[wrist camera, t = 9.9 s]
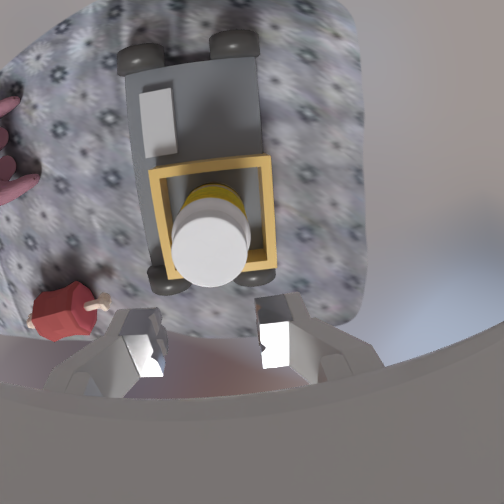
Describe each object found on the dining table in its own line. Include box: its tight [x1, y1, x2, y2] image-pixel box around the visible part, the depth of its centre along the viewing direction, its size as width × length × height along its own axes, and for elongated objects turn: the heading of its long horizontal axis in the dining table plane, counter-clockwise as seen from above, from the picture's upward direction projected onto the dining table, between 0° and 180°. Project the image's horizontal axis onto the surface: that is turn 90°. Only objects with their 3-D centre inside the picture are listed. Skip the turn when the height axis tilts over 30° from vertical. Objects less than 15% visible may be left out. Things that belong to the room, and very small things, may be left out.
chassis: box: [117, 30, 277, 296], centre depth 20 cm, size 11×19×4 cm, turn 5°
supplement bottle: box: [171, 182, 251, 287], centre depth 18 cm, size 5×5×8 cm
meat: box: [27, 281, 111, 342], centre depth 23 cm, size 12×5×5 cm, turn 105°
